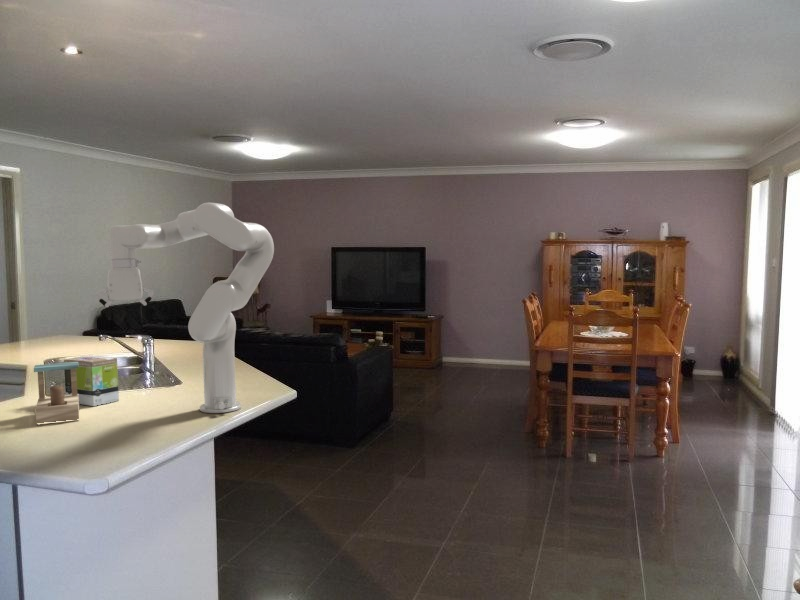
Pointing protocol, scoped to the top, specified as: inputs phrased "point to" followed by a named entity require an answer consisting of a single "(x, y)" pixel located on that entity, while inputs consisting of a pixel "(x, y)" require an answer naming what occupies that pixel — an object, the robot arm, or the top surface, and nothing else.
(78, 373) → the tea box
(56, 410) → the socket block
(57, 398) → the peg
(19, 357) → the top surface
